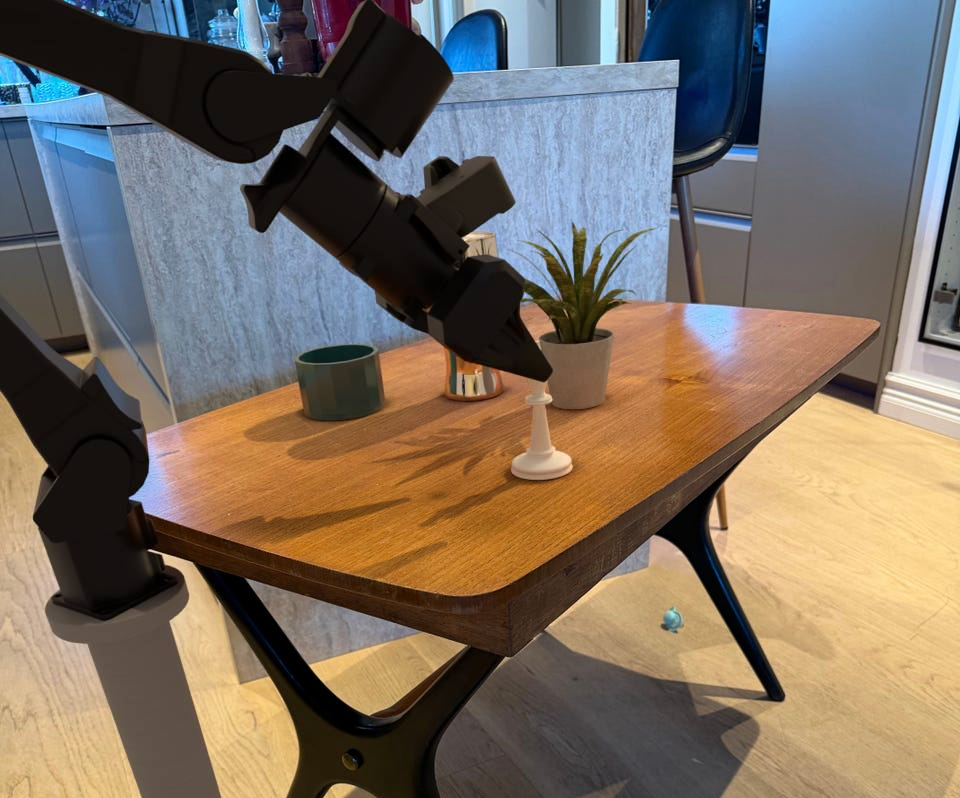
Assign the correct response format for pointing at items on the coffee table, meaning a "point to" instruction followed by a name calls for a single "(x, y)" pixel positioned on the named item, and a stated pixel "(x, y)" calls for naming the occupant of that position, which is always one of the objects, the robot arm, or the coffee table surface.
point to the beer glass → (461, 375)
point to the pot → (340, 381)
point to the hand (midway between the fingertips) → (524, 363)
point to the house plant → (577, 323)
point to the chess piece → (540, 442)
